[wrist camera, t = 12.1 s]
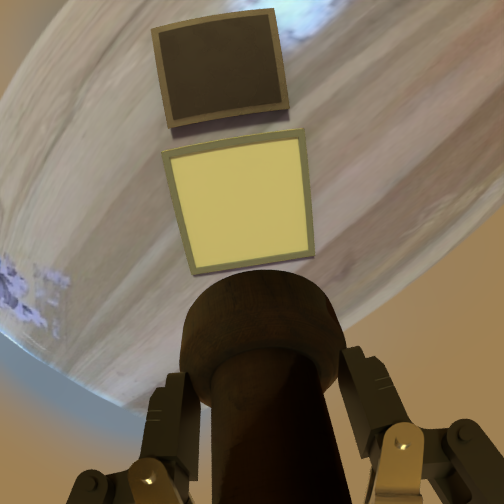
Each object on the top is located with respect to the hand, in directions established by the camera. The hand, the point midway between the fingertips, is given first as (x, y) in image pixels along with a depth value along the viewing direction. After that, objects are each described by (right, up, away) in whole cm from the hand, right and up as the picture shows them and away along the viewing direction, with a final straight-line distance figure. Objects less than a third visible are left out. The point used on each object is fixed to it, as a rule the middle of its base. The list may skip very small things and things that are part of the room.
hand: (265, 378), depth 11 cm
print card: (-1, +9, +17) cm, 20 cm away
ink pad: (-3, +20, +12) cm, 23 cm away
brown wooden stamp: (0, +1, +2) cm, 3 cm away
